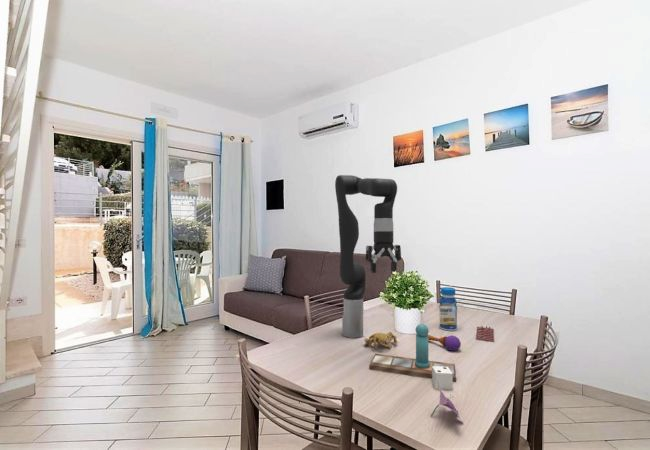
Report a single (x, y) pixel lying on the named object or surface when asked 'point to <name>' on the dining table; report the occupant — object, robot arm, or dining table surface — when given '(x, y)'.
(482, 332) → the chocolate bar
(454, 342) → the kendama
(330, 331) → the dining table surface
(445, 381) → the die
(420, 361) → the pawn
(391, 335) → the crab model
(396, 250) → the robot arm
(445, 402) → the lily
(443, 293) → the beverage bottle
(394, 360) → the board
